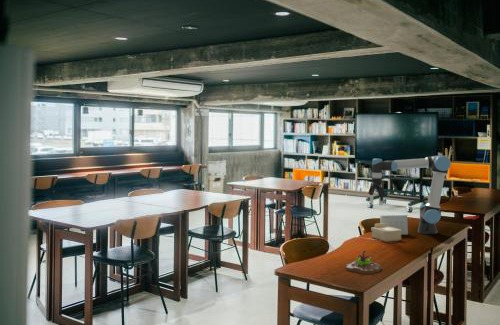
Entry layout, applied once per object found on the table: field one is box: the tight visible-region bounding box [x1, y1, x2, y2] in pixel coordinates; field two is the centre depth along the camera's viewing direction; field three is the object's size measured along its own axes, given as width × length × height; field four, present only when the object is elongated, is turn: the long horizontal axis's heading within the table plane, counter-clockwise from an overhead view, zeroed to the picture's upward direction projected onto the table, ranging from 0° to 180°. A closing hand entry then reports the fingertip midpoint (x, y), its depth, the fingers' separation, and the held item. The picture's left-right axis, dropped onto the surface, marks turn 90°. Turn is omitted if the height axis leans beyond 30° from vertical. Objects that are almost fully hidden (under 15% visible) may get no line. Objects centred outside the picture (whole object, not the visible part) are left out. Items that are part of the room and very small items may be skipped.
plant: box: [345, 249, 383, 275], centre depth 274 cm, size 20×20×11 cm
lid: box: [370, 222, 402, 234], centre depth 356 cm, size 16×18×5 cm
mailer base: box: [371, 230, 402, 243], centre depth 356 cm, size 14×18×7 cm
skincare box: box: [379, 214, 409, 236], centre depth 373 cm, size 21×6×16 cm, turn 84°
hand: (376, 204), depth 369 cm, fingers open, 13 cm apart
